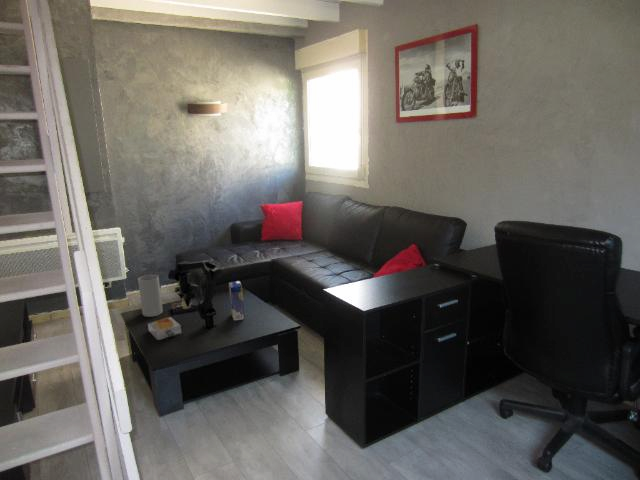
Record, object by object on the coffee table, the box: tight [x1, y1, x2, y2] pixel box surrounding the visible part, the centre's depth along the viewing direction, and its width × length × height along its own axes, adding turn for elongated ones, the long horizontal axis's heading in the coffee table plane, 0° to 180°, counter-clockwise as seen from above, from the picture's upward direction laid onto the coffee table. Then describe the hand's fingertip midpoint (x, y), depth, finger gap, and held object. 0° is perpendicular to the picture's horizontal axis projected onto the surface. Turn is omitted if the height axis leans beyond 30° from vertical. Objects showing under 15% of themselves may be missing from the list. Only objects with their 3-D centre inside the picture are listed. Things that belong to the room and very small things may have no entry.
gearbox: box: [147, 316, 182, 341], centre depth 266 cm, size 19×14×7 cm
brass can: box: [181, 296, 190, 309], centre depth 280 cm, size 5×5×7 cm
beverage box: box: [228, 280, 245, 321], centre depth 285 cm, size 7×11×22 cm, turn 18°
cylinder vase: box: [137, 274, 164, 318], centre depth 294 cm, size 12×12×25 cm
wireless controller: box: [171, 282, 204, 315], centre depth 301 cm, size 20×14×17 cm
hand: (186, 305), depth 280 cm, fingers closed on brass can, 5 cm apart
